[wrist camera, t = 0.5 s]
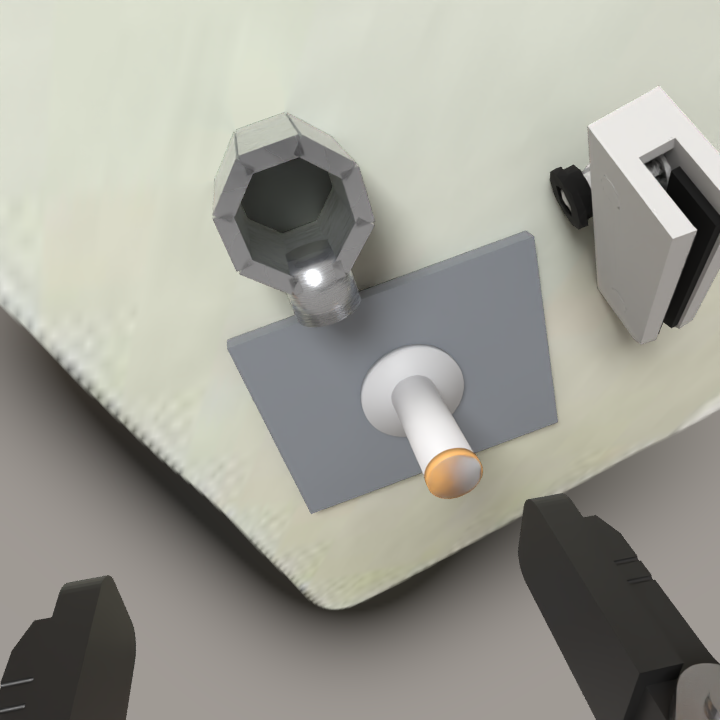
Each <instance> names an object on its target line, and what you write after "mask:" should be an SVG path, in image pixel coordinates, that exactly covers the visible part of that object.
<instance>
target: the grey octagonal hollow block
mask: <svg viewBox="0 0 720 720" xmlns="http://www.w3.org/2000/svg"><path fill="white" fill-rule="evenodd" d="M298 157H300V158H302V159H304V160H306V161H308V162H310V163H312V164H314V165H316V166H318V167H320V168H322V169H324V170H326V171H328V174H329V177H330V180H331V183H332V186H333V187H332V189H331V191H330V193H329V196H328V198H327V200H326V202H325V204H324V206H323V208H322V210H321V212H320V214H319V216H318V218H317V220H316V221H314V222H311V223H308V224H305V225H303V226H300V227H297V228H294V229H292V230H289V231H286V232H283V233H281V232H278V231H276V230H274V229H272V228H269V227H267V226H265V225H262V224H260V223H258V222H256V221H253V220H251V219H249V218H247V216H246V213H245V211H244V209H243V206H242V204H241V200H242V198H243V196H244V193H245V191H246V189H247V186H248V184H249V182H250V179H251V177H252V175H253V174H254V173H256V172H259V171H262V170H265V169H268V168H270V167H273V166H276V165H279V164H281V163H284V162H287V161H290V160H292V159H295V158H298ZM213 221H214V223H215V225H216V227H217V230H218V232H219V234H220V236H221V238H222V241H223V243H224V245H225V247H226V249H227V252H228V254H229V256H230V258H231V260H232V263H233V265H234V267H235V269H236V271H239V274H240V275H242V276H245V277H247V278H250V279H253V280H255V281H258V282H260V283H263V284H265V285H268V286H270V287H273V288H275V289H278V290H280V291H283V292H285V293H287V296H288V298H289V300H290V303H291V305H292V308H293V310H294V313H295V315H296V318H297V320H298V322H299V323H300V324H301V325H303V326H306V327H323V326H327V325H331V324H334V323H336V322H339V321H341V320H343V319H345V318H347V317H348V316H350V315H351V314H352V313H353V312H355V311H356V309H357V308H358V307H359V305H360V303H361V297H360V294H359V291H358V288H357V285H356V282H355V279H354V276H353V273H352V270H351V269H352V267H353V265H354V263H355V261H356V259H357V257H358V255H359V254H360V252H361V250H362V248H363V246H364V244H365V242H366V240H367V238H368V237H369V235H370V233H371V231H372V229H373V227H374V224H373V222H375V220H374V216H373V213H372V209H371V206H370V202H369V199H368V195H367V192H366V189H365V185H364V182H363V178H362V175H361V171H360V168H359V165H358V164H357V163H356V162H355V161H354V160H353V159H352V157H351V156H350V155H349V154H348V153H347V152H346V151H345V150H344V149H343V148H342V147H341V145H340V144H339V143H338V142H337V141H336V140H335V139H334V138H333V137H332V136H330V135H328V134H327V133H325V132H323V131H321V130H319V129H317V128H315V127H313V126H312V125H310V124H308V123H306V122H304V121H302V120H300V119H298V118H297V117H295V116H293V115H291V114H289V113H287V115H285V113H281V114H278V115H275V116H272V117H270V118H267V119H264V120H261V121H259V122H256V123H253V124H250V125H247V126H245V127H242V128H239V129H236V133H235V132H233V134H232V137H231V139H230V142H229V144H228V147H227V149H226V152H225V154H224V157H223V159H222V162H221V164H220V167H219V169H218V172H217V174H216V177H215V180H214V198H213Z"/></svg>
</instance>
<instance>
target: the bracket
mask: <svg viewBox="0 0 720 720" xmlns="http://www.w3.org/2000/svg"><path fill="white" fill-rule="evenodd" d="M587 128H588V144H589V160H590V163H589V164H588V165H587V166H586V168H585V169H584V170H583V171H582V172H581V171H580V169H578V168H577V167H576V166H575V165H572V166H570V167H568V168H566V169H564V170H563V169H562V167H559V168H556V169H554V170H553V171H551V172H550V182H551V185H552V188H553V191H554V194H555V197H556V199H557V201H558V203H559V204H560V206H561V208H562V210H563V212H564V214H565V215H566V217H567V218H568V219H569V221H570V222H571V224H572V225H573V226H574V227H576V228H577V229H581V228H583V227H585V226H588V219H589V218H591V217H592V216H593V223H594V239H595V255H596V270H597V286H598V289H599V291H600V292H601V294H602V295H603V296H604V298H605V299H606V301H607V302H608V304H609V305H610V306H611V308H612V309H613V311H614V312H615V313H616V315H617V316H618V318H619V319H620V321H621V322H622V323H623V325H624V326H625V328H626V329H627V330H628V332H629V333H630V335H631V336H632V337H633V339H634V340H636V341H637V342H638V343H639V344H644V343H647V342H650V341H653V340H656V338H657V335H658V334H659V332H660V329H661V327H662V324H663V322H664V323H665V324H667V325H668V326H669V327H671V328H672V327H677V328H681V327H682V326H684V325H686V324H687V323H689V322H690V321H692V320H693V318H694V317H695V315H696V313H697V311H698V309H699V307H700V305H701V303H702V301H703V299H704V298H705V296H706V294H707V292H708V290H709V288H710V286H711V284H712V282H713V281H714V279H715V277H716V275H717V273H718V271H719V269H720V153H719V152H718V151H717V150H716V149H715V148H714V147H713V145H712V144H711V143H710V142H709V141H708V140H707V139H706V138H705V136H704V135H703V134H702V133H701V132H700V131H699V130H698V129H697V127H696V126H695V125H694V124H693V123H692V122H691V121H690V119H689V118H688V117H687V116H686V115H685V114H684V113H683V112H682V110H681V109H680V108H679V107H678V106H677V105H676V104H675V103H674V101H673V100H672V99H671V98H670V97H669V96H668V95H667V94H666V92H665V91H664V90H663V89H662V88H661V87H660V86H658V87H656V88H654V89H652V90H650V91H649V92H647V93H645V94H643V95H642V96H640V97H638V98H636V99H635V100H633V101H631V102H629V103H627V104H626V105H624V106H622V107H620V108H618V109H617V110H615V111H613V112H611V113H609V114H608V115H606V116H604V117H602V118H600V119H599V120H597V121H595V122H593V123H592V124H590V125H588V126H587Z"/></svg>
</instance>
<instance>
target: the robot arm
mask: <svg viewBox="0 0 720 720" xmlns="http://www.w3.org/2000/svg"><path fill="white" fill-rule="evenodd" d="M518 556H519V563H520V568H521V571H522V574H523V577H524V580H525V581H526V584H527V586H528V587H529V590H530V591H531V593H532V595H533V597H534V599H535V601H536V603H537V605H538V607H539V609H540V611H541V613H542V615H543V617H544V618H545V621H546V623H547V625H548V627H549V628H550V631H551V632H552V635H553V636H554V638H555V640H556V642H557V644H558V646H559V648H560V650H561V652H562V654H563V656H564V658H565V660H566V662H567V664H568V666H569V668H570V670H571V671H572V674H573V675H574V677H575V679H576V681H577V683H578V685H579V687H580V689H581V691H582V693H583V695H584V697H585V699H586V701H587V702H588V705H589V707H590V708H591V711H592V713H593V715H594V716H595V718H596V720H720V664H719V663H718V662H717V661H716V660H715V659H714V658H713V657H712V655H711V654H710V653H709V652H708V650H707V649H706V648H705V647H704V645H703V644H702V642H701V641H700V640H699V638H698V637H697V636H696V634H695V633H694V632H693V630H692V629H691V628H690V626H689V625H688V623H687V622H686V621H685V620H684V618H683V617H682V615H681V614H680V613H679V611H678V610H677V609H676V607H675V606H674V605H673V603H672V602H671V601H670V599H669V598H668V597H667V595H666V594H665V593H664V591H663V590H662V589H661V587H660V586H659V585H658V583H657V582H656V580H653V579H652V577H651V574H650V572H649V571H648V570H647V568H646V567H645V566H644V564H643V563H642V562H641V561H639V560H638V558H637V555H636V554H635V552H634V551H633V550H632V548H631V547H630V546H629V544H628V543H627V542H626V540H625V539H624V537H623V536H622V535H621V533H619V532H618V531H617V530H615V529H614V528H613V527H611V526H610V525H609V524H607V523H606V522H604V521H603V520H602V519H600V518H599V517H598V516H596V515H594V516H589V517H583V516H582V515H581V514H580V512H579V511H578V509H577V508H576V507H575V505H574V504H573V502H572V501H571V499H570V498H569V497H568V496H567V495H565V494H563V493H561V494H555V495H550V496H544V497H539V498H533V499H528V500H526V502H525V504H524V509H523V517H522V525H521V532H520V540H519V547H518ZM135 656H136V641H135V632H134V627H133V624H132V621H131V619H130V617H129V615H128V612H127V610H126V607H125V605H124V603H123V601H122V598H121V596H120V594H119V591H118V589H117V587H116V584H115V582H114V580H113V578H112V577H111V576H109V575H107V576H102V577H97V578H91V579H86V580H80V581H75V582H70V583H66V584H65V585H64V586H63V587H62V589H61V590H60V593H59V596H58V599H57V603H56V606H55V609H54V612H53V616H52V617H51V618H46V619H41V620H35V621H34V622H33V623H32V625H31V626H30V627H29V628H28V630H27V631H26V632H25V634H24V635H23V636H22V638H21V639H20V641H19V642H18V643H17V645H16V646H15V647H14V649H13V650H12V652H11V655H10V658H9V661H8V663H7V666H6V669H5V672H4V675H3V678H2V680H1V688H0V720H126V715H127V708H128V702H129V695H130V689H131V683H132V676H133V670H134V664H135Z"/></svg>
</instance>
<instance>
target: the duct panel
mask: <svg viewBox="0 0 720 720" xmlns="http://www.w3.org/2000/svg"><path fill="white" fill-rule="evenodd" d="M359 294H360V297H361V303H360V305H359V307H358V308H357V309H356V311H355V312H353V313H352V314H351V315H350V316H348V317H347V318H345V319H343V320H341V321H339V322H336V323H334V324H331V325H327V326H323V327H306V326H303V325H301V324H300V323H299V322H298V320H297V318H296V315H294V316H291V317H289V318H286V319H283V320H280V321H278V322H275V323H272V324H269V325H267V326H264V327H261V328H258V329H256V330H253V331H250V332H248V333H245V334H242V335H239V336H237V337H234V338H231V339H228V340H227V349H228V351H229V353H230V355H231V357H232V359H233V361H234V363H235V365H236V367H237V369H238V371H239V373H240V375H241V377H242V379H243V381H244V383H245V385H246V387H247V389H248V391H249V393H250V394H251V396H252V398H253V400H254V402H255V404H256V406H257V408H258V410H259V412H260V414H261V416H262V418H263V420H264V422H265V424H266V426H267V428H268V430H269V432H270V434H271V436H272V438H273V440H274V442H275V444H276V446H277V448H278V450H279V452H280V454H281V456H282V458H283V460H284V462H285V464H286V466H287V467H288V469H289V471H290V473H291V475H292V477H293V479H294V481H295V483H296V485H297V487H298V489H299V491H300V493H301V495H302V497H303V499H304V501H305V503H306V505H307V507H308V509H309V511H310V513H311V514H312V513H315V512H318V511H320V510H323V509H326V508H329V507H331V506H334V505H337V504H339V503H342V502H345V501H347V500H350V499H353V498H355V497H358V496H361V495H363V494H366V493H369V492H372V491H374V490H377V489H380V488H382V487H385V486H388V485H390V484H393V483H396V482H398V481H401V480H404V479H406V478H409V477H412V476H415V475H417V474H420V473H423V475H424V478H425V482H426V484H427V486H428V488H429V490H430V492H431V493H432V494H433V495H435V496H437V497H439V498H444V499H452V498H457V497H460V496H463V495H465V494H467V493H468V492H470V491H471V490H472V489H474V488H475V487H476V485H477V484H478V483H479V481H480V479H481V477H482V473H483V468H482V464H481V463H480V461H479V459H478V457H477V456H476V454H475V453H476V452H479V451H482V450H484V449H487V448H490V447H492V446H495V445H498V444H500V443H503V442H506V441H509V440H511V439H514V438H517V437H519V436H522V435H525V434H527V433H530V432H533V431H535V430H538V429H541V428H543V427H546V426H549V425H552V424H554V423H557V422H558V419H557V411H556V403H555V395H554V388H553V380H552V372H551V364H550V357H549V349H548V341H547V333H546V326H545V318H544V310H543V302H542V295H541V287H540V279H539V271H538V264H537V256H536V248H535V240H534V236H533V235H531V234H530V233H529V232H527V231H524V232H521V233H518V234H516V235H513V236H510V237H507V238H505V239H502V240H499V241H496V242H494V243H491V244H488V245H485V246H483V247H480V248H477V249H475V250H472V251H469V252H466V253H464V254H461V255H458V256H455V257H453V258H450V259H447V260H444V261H442V262H439V263H436V264H434V265H431V266H428V267H425V268H423V269H420V270H417V271H414V272H412V273H409V274H406V275H403V276H401V277H398V278H395V279H392V280H390V281H387V282H384V283H382V284H379V285H376V286H373V287H371V288H368V289H365V290H362V291H360V292H359Z"/></svg>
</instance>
